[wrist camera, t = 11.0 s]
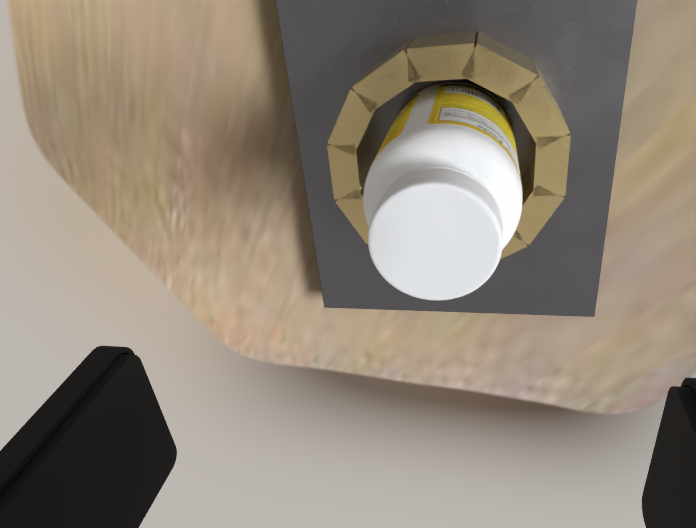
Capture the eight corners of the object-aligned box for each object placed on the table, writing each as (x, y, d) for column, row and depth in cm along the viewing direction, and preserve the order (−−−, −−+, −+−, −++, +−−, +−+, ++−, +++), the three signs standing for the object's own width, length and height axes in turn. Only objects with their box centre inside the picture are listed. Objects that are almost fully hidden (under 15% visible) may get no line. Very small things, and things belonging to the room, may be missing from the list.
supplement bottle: (412, 210, 26) (376, 332, 18) (375, 102, 24) (314, 185, 16) (527, 181, 24) (545, 303, 16) (498, 60, 22) (502, 131, 14)
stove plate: (277, -66, 23) (236, -67, 19) (642, -118, 20) (679, -132, 16) (331, 292, 32) (309, 340, 28) (589, 300, 28) (604, 355, 25)
